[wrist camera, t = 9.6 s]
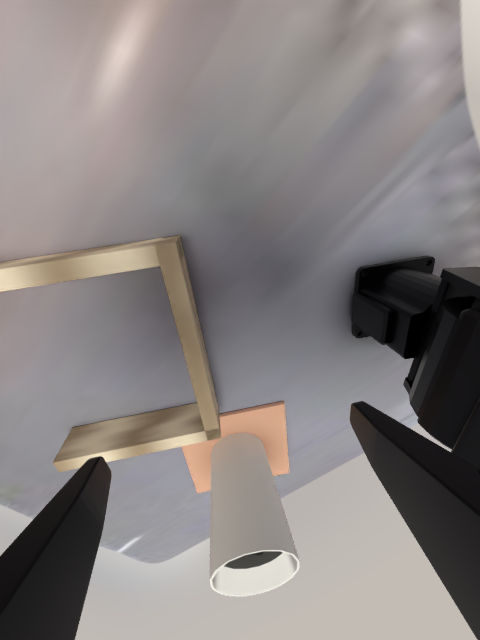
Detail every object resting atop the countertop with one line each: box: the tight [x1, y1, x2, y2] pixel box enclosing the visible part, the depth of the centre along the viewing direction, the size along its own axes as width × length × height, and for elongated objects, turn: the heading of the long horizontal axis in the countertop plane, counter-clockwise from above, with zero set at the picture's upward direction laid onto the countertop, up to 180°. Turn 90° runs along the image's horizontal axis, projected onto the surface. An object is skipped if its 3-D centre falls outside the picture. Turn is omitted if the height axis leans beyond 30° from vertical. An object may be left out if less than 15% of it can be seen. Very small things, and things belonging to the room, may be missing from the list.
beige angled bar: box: [0, 235, 221, 472], centre depth 19 cm, size 14×16×4 cm
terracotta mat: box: [182, 401, 289, 493], centre depth 27 cm, size 11×11×1 cm
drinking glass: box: [210, 433, 300, 597], centre depth 23 cm, size 7×7×10 cm
